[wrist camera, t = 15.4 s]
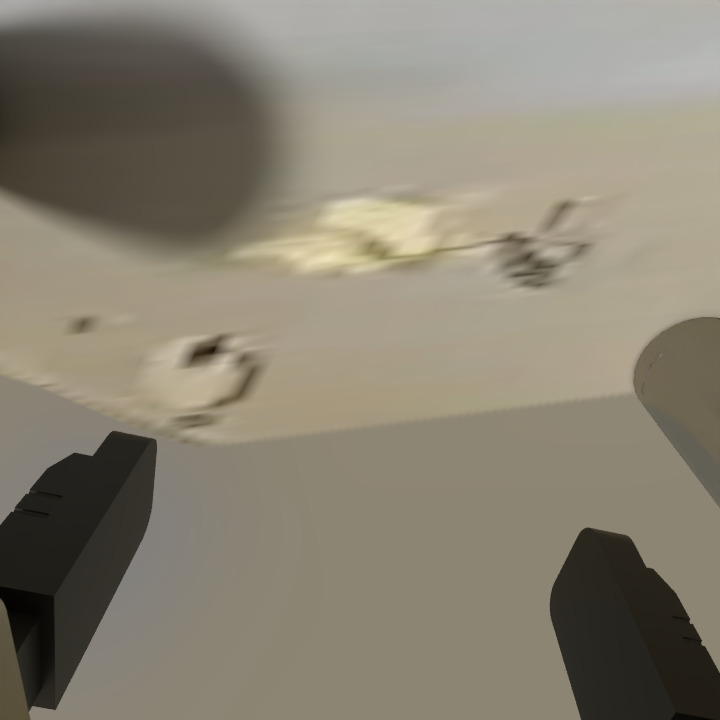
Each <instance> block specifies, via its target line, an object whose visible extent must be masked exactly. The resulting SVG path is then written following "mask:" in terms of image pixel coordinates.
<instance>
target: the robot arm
mask: <svg viewBox="0 0 720 720" xmlns="http://www.w3.org/2000/svg"><path fill="white" fill-rule="evenodd" d="M634 388H635V392H636V394H637V396H638V399H639V400H640V402H641V403H642V405H643V406H644V407H645V409H646V410H647V411H648V413H649V414H650V415H651V417H652V418H653V419H654V421H655V422H656V423H657V425H658V426H659V428H660V429H661V430H662V432H663V433H664V434H665V436H666V437H667V438H668V440H669V441H670V442H671V444H672V445H673V446H674V448H675V449H676V450H677V452H678V453H679V454H680V456H681V457H682V458H683V460H684V461H685V462H686V463H687V465H688V466H689V468H690V469H691V470H692V472H693V473H694V474H695V476H696V477H697V478H698V480H699V481H700V482H701V484H702V485H703V486H704V488H705V489H706V490H707V491H708V493H709V494H710V496H711V497H712V498H713V499H714V501H715V502H716V504H717V505H718V506H719V508H720V319H716V318H698V319H692V320H688V321H685V322H682V323H679V324H676V325H674V326H672V327H671V328H669V329H667V330H665V331H663V332H662V333H661V334H660V335H658V336H657V337H656V338H655V339H653V340H652V341H651V343H650V344H649V345H648V346H647V347H646V348H645V349H644V351H643V353H642V354H641V356H640V358H639V359H638V362H637V365H636V368H635V371H634ZM156 453H157V442H156V440H155V439H152V438H147V437H142V436H137V435H132V434H127V433H123V432H117V431H112V432H111V433H110V434H109V435H108V436H107V437H106V439H105V440H104V442H103V443H102V444H101V446H100V447H99V448H98V450H97V451H96V453H95V454H94V455H93V456H88V455H83V454H78V453H73V454H71V455H70V456H68V457H66V458H65V459H63V460H61V461H60V462H58V463H56V464H54V465H52V466H51V467H49V468H48V469H47V470H46V471H45V472H44V473H43V474H42V476H41V477H40V478H39V479H38V480H37V482H36V483H35V484H34V485H33V486H32V488H31V489H30V492H29V494H26V495H25V496H24V497H23V498H22V500H21V501H20V502H19V503H18V504H17V506H16V507H15V510H14V512H11V513H10V514H9V515H8V516H7V518H6V519H5V520H4V521H3V522H2V524H1V525H0V720H30V716H29V711H30V709H31V707H32V706H36V707H42V708H47V709H54V710H56V708H57V706H58V704H59V702H60V700H61V698H62V696H63V694H64V692H65V690H66V688H67V686H68V684H69V682H70V680H71V678H72V677H73V675H74V673H75V670H76V668H77V667H78V665H79V663H80V661H81V659H82V657H83V655H84V653H85V651H86V649H87V647H88V645H89V643H90V641H91V639H92V637H93V635H94V633H95V631H96V629H97V627H98V625H99V623H100V621H101V619H102V618H103V616H104V614H105V611H106V610H107V608H108V606H109V604H110V602H111V600H112V598H113V596H114V594H115V592H116V590H117V588H118V586H119V584H120V582H121V580H122V578H123V576H124V574H125V572H126V570H127V569H128V566H129V565H130V563H131V560H132V558H133V557H134V555H135V553H136V551H137V549H138V547H139V545H140V543H141V541H142V539H143V537H144V534H145V531H146V528H147V525H148V522H149V518H150V514H151V509H152V502H153V501H152V500H153V490H154V478H155V466H156ZM550 615H551V620H552V623H553V626H554V630H555V633H556V636H557V640H558V643H559V646H560V650H561V653H562V657H563V660H564V663H565V667H566V670H567V673H568V677H569V680H570V684H571V687H572V690H573V693H574V697H575V700H576V704H577V707H578V710H579V714H580V717H581V720H720V673H719V671H718V669H717V667H716V665H715V664H714V662H713V660H712V658H711V656H710V655H709V653H708V651H707V649H706V647H705V646H702V645H701V641H702V640H701V638H700V636H699V634H698V633H697V631H696V629H695V627H694V626H693V624H690V622H689V621H690V618H689V616H688V615H687V613H686V611H685V609H684V607H683V605H682V603H681V602H680V600H679V598H678V596H677V594H676V593H675V592H674V591H673V590H672V589H671V588H670V586H669V585H668V584H667V583H666V582H665V581H664V580H663V579H662V578H661V577H660V576H659V575H658V574H657V573H656V572H655V571H654V569H651V568H646V566H645V564H644V562H643V560H642V558H641V556H640V554H639V552H638V551H637V549H636V547H635V545H634V543H633V541H632V539H630V537H628V536H627V535H622V534H618V533H613V532H607V531H603V530H598V529H593V528H585V529H583V530H582V531H581V532H580V533H579V535H578V537H577V539H576V541H575V543H574V545H573V547H572V549H571V551H570V553H569V555H568V557H567V559H566V561H565V563H564V565H563V567H562V569H561V571H560V573H559V575H558V577H557V579H556V581H555V583H554V585H553V588H552V592H551V597H550Z"/></svg>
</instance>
